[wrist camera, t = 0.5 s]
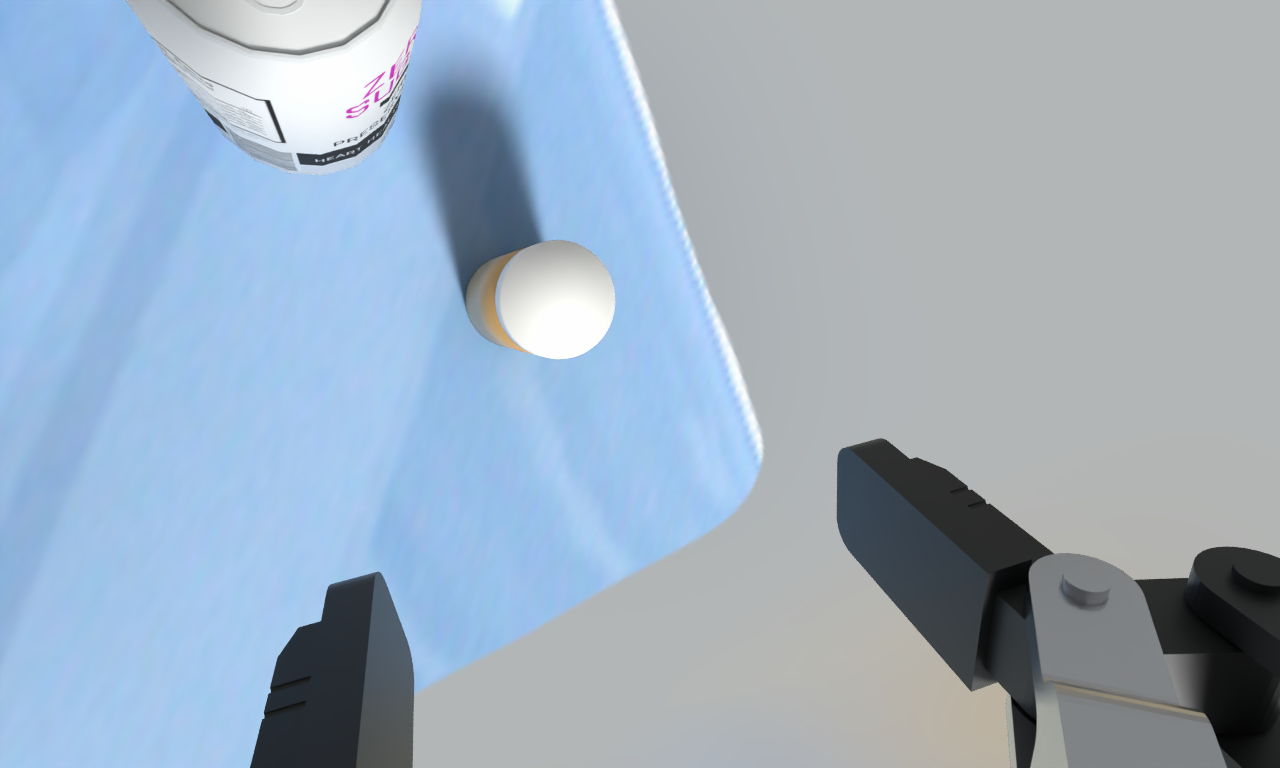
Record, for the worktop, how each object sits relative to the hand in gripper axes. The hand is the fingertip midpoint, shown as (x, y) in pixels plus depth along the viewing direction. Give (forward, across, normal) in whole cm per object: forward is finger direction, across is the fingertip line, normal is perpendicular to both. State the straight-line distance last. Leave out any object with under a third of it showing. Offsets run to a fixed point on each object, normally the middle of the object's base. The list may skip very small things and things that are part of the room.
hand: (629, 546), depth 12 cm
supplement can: (+28, +7, -8) cm, 30 cm away
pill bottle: (+26, 0, +4) cm, 26 cm away
